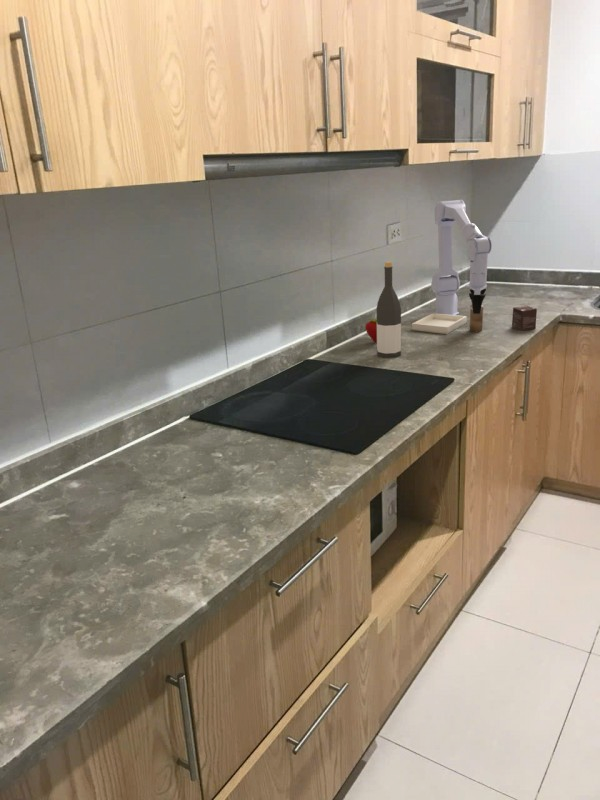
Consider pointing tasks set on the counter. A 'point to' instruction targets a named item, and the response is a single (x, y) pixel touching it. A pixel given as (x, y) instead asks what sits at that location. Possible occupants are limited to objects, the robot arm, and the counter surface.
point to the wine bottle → (388, 319)
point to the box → (524, 318)
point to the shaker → (476, 320)
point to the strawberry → (372, 329)
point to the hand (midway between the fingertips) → (476, 310)
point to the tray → (439, 323)
